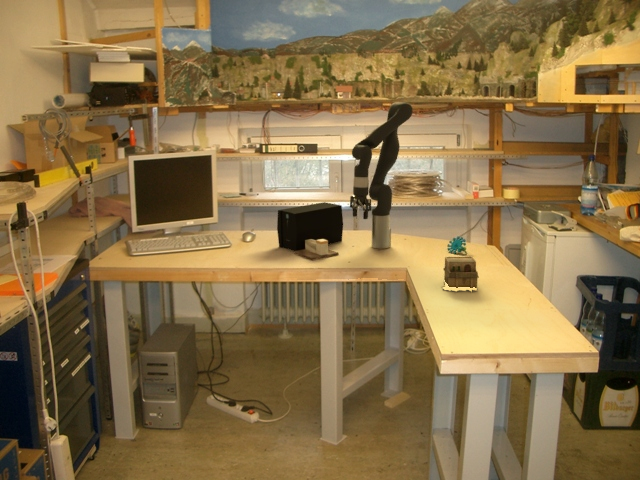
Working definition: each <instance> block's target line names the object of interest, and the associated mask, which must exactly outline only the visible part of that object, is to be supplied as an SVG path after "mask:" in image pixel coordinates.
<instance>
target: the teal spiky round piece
mask: <svg viewBox="0 0 640 480" xmlns="http://www.w3.org/2000/svg"><path fill="white" fill-rule="evenodd" d="M466 245H467V243H466V239H465V238H464V237H463V236H461V237H460V236H456V238H455V237H453V238H452V240H449V242H448V243H447V249H446V250H447V251H449V253H450V254H452V253H453V254H455V255H456V253H461V252H463V253H465V254H467V253H468V252H467V251H466V250H467V247H466Z"/></svg>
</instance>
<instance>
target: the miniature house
mask: <svg viewBox="0 0 640 480" xmlns="http://www.w3.org/2000/svg"><path fill="white" fill-rule="evenodd" d="M443 271H444V274H443V275H444V280H445V282H446V283H447V284H448V286H449V287H456V288H458V287H470V288H473V287H475V288H477V289H478V278H480V277H479V273H478V271H477V261H476V260H475V258H474V257H473V256H445V257H444V268H443ZM444 280H443V281H444Z"/></svg>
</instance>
